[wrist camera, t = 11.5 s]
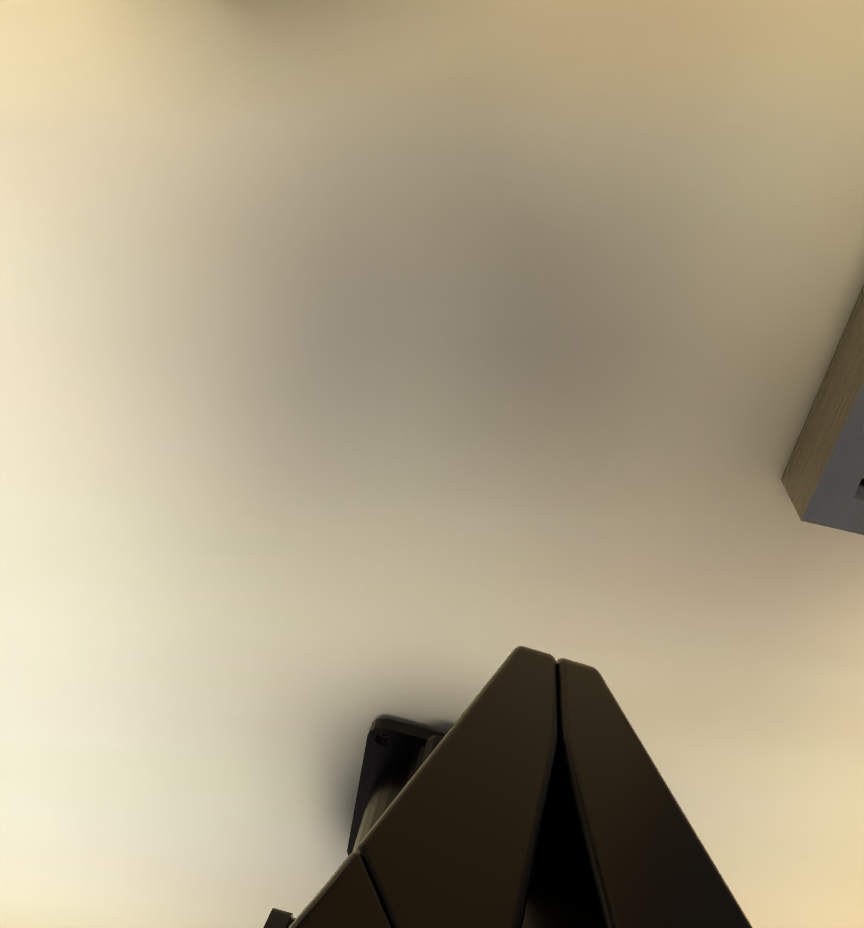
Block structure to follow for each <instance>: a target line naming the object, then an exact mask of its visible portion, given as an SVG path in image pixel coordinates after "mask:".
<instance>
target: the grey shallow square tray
mask: <svg viewBox="0 0 864 928" xmlns="http://www.w3.org/2000/svg"><path fill="white" fill-rule="evenodd" d="M781 481H782V483H783V485H784V487H785V489H786V491H787V493H788V495H789V497H790V499H791V501H792V503H793V505H794V507H795V509H796V511H797V513H798V515H799V517H800V519H801V521H806V522H810V523H814V524H819V525H823V526H827V527H832V528H836V529H840V530H845V531H849V532H853V533H858V534H862V535H864V287H863V289H862V291H861V294H860V296H859V299H858V301H857V303H856V306H855V308H854V310H853V313H852V315H851V317H850V320H849V322H848V324H847V327H846V329H845V331H844V334H843V336H842V339H841V341H840V343H839V346H838V348H837V350H836V353H835V355H834V357H833V360H832V362H831V364H830V367H829V369H828V372H827V374H826V376H825V379H824V381H823V383H822V386H821V388H820V390H819V393H818V395H817V397H816V400H815V402H814V404H813V407H812V409H811V412H810V414H809V416H808V419H807V421H806V423H805V426H804V428H803V430H802V433H801V435H800V437H799V440H798V442H797V444H796V447H795V449H794V452H793V454H792V456H791V459H790V461H789V463H788V466H787V468H786V470H785V473H784V475H783V477H782V480H781Z"/></svg>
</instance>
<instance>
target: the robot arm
mask: <svg viewBox="0 0 864 928" xmlns="http://www.w3.org/2000/svg"><path fill="white" fill-rule="evenodd" d="M381 734H385V735H387V736H389V737H385V736H383V735H381ZM347 852H348V855H349V856H348V857H347V858H346V860H345V861H344V862H343V863H342V865H341V866H340V867H339V868H338V870H337V871H336V872H335V873H334V875H333V876H332V877H331V878H330V880H329V881H328V882H327V883H326V885H325V886H324V887H323V888H322V889H321V890H320V892H319V893H318V894H317V895H316V896H315V897H314V899H313V900H312V901H311V902H310V903H309V904H308V906H307V907H306V908H305V909H304V910H303V911H302V912H301V914H300V915H299V916H298V917H297V918H293V917H292V916H293V913H289V912H286V911H282V910H279V909H275V908H273V909H272V911H271V913H270V915H269V917H268V919H267V921H266V923H265V925H264V927H263V928H752V926H751V924H750V923H749V921H748V919H747V918H746V916H745V914H744V913H743V911H742V909H741V908H740V906H739V904H738V903H737V901H736V899H735V898H734V896H733V894H732V893H731V891H730V889H729V888H728V886H727V884H726V883H725V881H724V879H723V878H722V876H721V874H720V873H719V871H718V869H717V868H716V866H715V864H714V863H713V861H712V859H711V858H710V856H709V854H708V853H707V851H706V849H705V848H704V846H703V844H702V843H701V841H700V839H699V838H698V836H697V834H696V833H695V831H694V829H693V828H692V826H691V824H690V823H689V821H688V819H687V818H686V816H685V814H684V813H683V811H682V809H681V808H680V806H679V804H678V803H677V801H676V799H675V798H674V796H673V794H672V793H671V791H670V789H669V788H668V786H667V784H666V783H665V781H664V779H663V778H662V776H661V774H660V773H659V771H658V769H657V768H656V766H655V764H654V763H653V761H652V759H651V758H650V756H649V754H648V753H647V751H646V749H645V748H644V746H643V744H642V743H641V741H640V739H639V738H638V736H637V734H636V733H635V731H634V729H633V728H632V726H631V724H630V723H629V721H628V719H627V718H626V716H625V714H624V713H623V711H622V709H621V708H620V706H619V704H618V703H617V701H616V699H615V698H614V696H613V694H612V693H611V691H610V690H609V688H608V686H607V685H606V683H605V681H604V680H603V678H602V676H601V675H600V673H599V672H598V671H597V670H596V669H595V668H593V667H591V666H588V665H585V664H581V663H578V662H574V661H571V660H567V659H564V658H561V659H558V660H557V661H555V658H554V657H553V656H552V655H550V654H547V653H544V652H540V651H537V650H534V649H530V648H527V647H524V646H519V647H517V648H515V649H514V650H513V651H512V653H511V654H510V655H509V656H508V658H507V659H506V660H505V661H504V663H503V664H502V665H501V666H500V668H499V669H498V670H497V671H496V673H495V674H494V675H493V676H492V678H491V679H490V680H489V681H488V683H487V684H486V685H485V686H484V688H483V689H482V690H481V691H480V693H479V694H478V695H477V696H476V698H475V699H474V700H473V701H472V703H471V704H470V705H469V707H468V708H467V709H466V710H465V712H464V713H463V714H462V715H461V717H460V718H459V719H458V720H457V722H456V723H455V724H454V725H453V727H452V728H451V729H450V730H449V732H448V733H447V734H442V733H439V732H435V731H431V730H427V729H424V728H420V727H416V726H412V725H409V724H405V723H401V722H397V721H393V720H390V719H383V718H382V719H377V720H375V721H374V722H373V723H372V725H371V727H370V730H369V733H368V736H367V742H366V748H365V753H364V759H363V765H362V770H361V776H360V782H359V787H358V793H357V799H356V804H355V810H354V815H353V821H352V827H351V832H350V838H349V844H348V849H347Z"/></svg>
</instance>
